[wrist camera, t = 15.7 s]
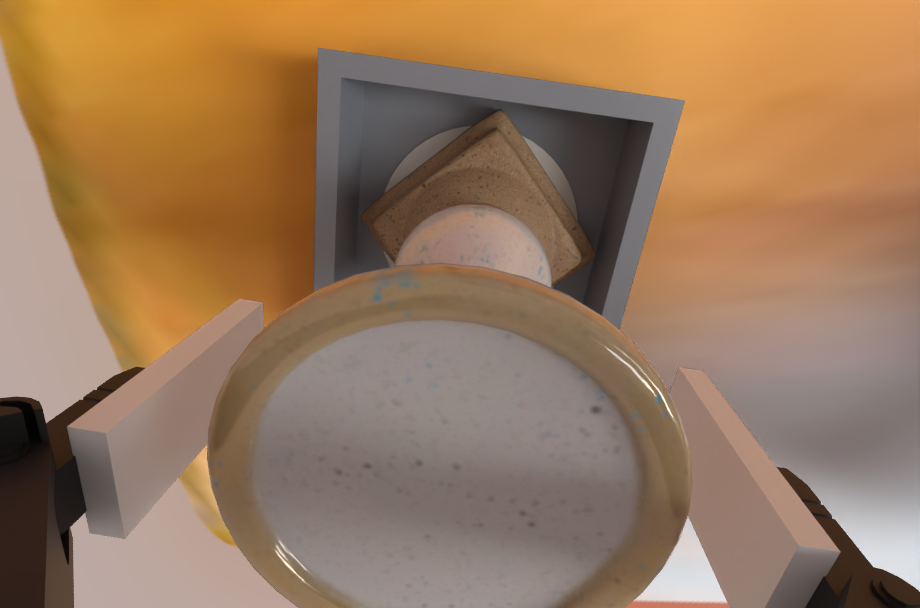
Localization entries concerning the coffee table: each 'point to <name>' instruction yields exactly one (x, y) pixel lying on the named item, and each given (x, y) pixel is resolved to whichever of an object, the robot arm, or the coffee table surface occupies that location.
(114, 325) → the coffee table surface
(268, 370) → the candle holder
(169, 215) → the coffee table surface
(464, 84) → the walled bin
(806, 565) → the robot arm
